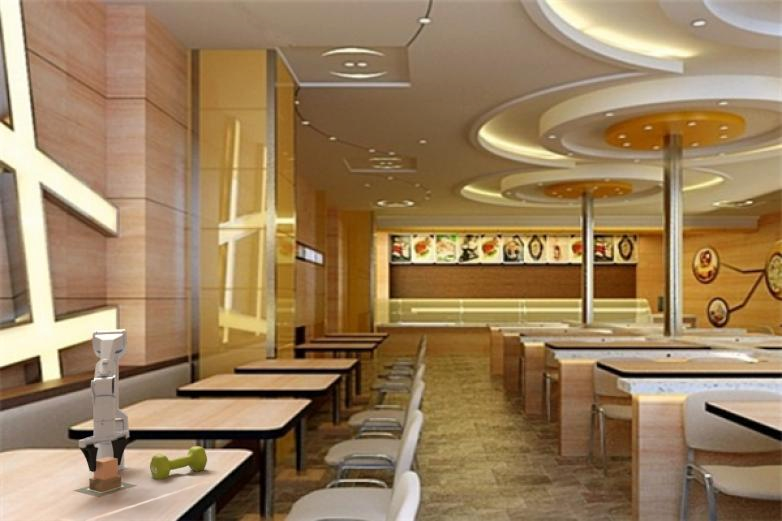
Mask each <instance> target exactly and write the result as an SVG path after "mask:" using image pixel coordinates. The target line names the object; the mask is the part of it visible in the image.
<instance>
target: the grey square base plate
mask: <svg viewBox="0 0 782 521" xmlns="http://www.w3.org/2000/svg"><path fill="white" fill-rule="evenodd" d="M136 486H138V485H137V484H132V483H128V482H124V481H121V487H118V488H115V489H111V490H108V491H104V492H99V491H95V490H91V489H89V485H88V486H85V487H81V488H77V489H74V490H73V491H74V492H76V493H81V494H85V495H89V496H93V497H97V498H101V497H103V496H104V497H105V496H106V495H110V494H113V493H117V492H119V491H124V490H127V489H130V488H132V487H133V488H134V487H136Z"/></svg>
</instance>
